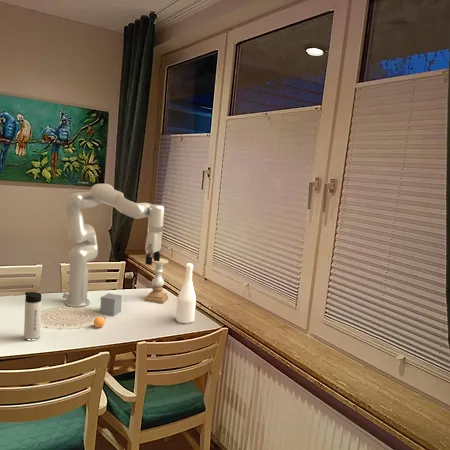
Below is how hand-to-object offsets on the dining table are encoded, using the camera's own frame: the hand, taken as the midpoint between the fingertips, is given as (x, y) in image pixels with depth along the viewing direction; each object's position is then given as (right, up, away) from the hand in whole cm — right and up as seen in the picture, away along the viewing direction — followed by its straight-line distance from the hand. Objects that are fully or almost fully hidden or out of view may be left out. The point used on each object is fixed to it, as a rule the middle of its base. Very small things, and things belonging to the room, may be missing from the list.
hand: (152, 262), depth 219 cm
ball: (-23, -27, -16) cm, 38 cm away
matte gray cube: (-23, -26, +5) cm, 35 cm away
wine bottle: (+16, -30, +4) cm, 35 cm away
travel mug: (-46, -30, -34) cm, 65 cm away
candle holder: (-3, -25, +33) cm, 42 cm away
